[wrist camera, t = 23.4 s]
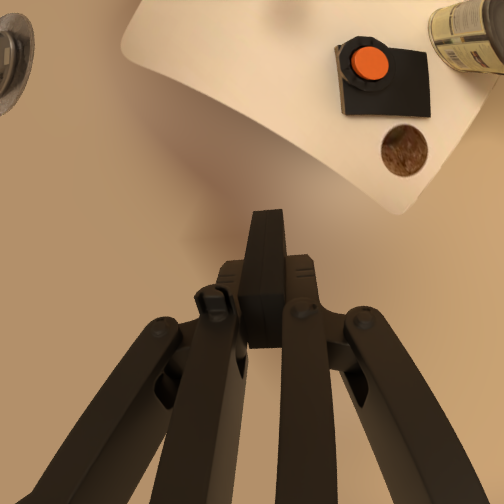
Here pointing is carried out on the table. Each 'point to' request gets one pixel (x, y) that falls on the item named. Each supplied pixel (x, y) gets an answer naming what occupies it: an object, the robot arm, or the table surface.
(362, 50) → the button
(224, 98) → the table surface
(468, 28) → the coffee can
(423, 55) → the control block
